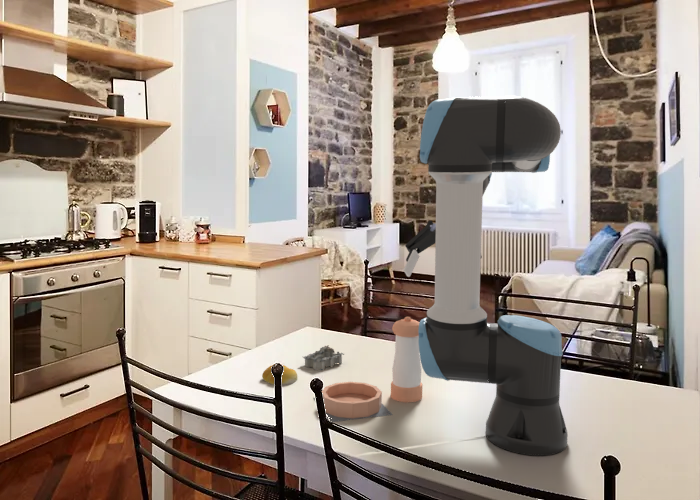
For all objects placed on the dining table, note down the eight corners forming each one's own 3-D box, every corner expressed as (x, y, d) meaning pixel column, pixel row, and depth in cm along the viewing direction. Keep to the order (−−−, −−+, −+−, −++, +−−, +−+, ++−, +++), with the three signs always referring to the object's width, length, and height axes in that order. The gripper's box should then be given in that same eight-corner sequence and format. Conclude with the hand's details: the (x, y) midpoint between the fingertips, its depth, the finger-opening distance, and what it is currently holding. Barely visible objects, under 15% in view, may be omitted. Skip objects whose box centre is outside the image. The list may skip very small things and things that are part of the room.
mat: (392, 416, 117) (392, 414, 117) (329, 424, 113) (329, 422, 113) (370, 393, 131) (370, 391, 130) (313, 399, 126) (313, 398, 126)
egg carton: (329, 358, 159) (329, 344, 159) (346, 364, 154) (347, 349, 153) (300, 365, 152) (300, 351, 152) (317, 372, 146) (317, 357, 146)
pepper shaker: (386, 401, 126) (388, 318, 124) (395, 390, 133) (396, 312, 131) (418, 405, 123) (419, 321, 121) (425, 394, 130) (426, 314, 128)
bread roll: (277, 390, 133) (277, 374, 133) (257, 380, 140) (257, 365, 139) (304, 382, 138) (304, 367, 138) (284, 373, 145) (284, 358, 145)
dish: (389, 413, 118) (389, 399, 117) (331, 420, 114) (331, 406, 113) (369, 392, 130) (369, 379, 129) (316, 398, 126) (316, 385, 126)
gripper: (510, 222, 138) (483, 292, 128) (423, 218, 153) (393, 279, 143) (502, 202, 133) (473, 272, 123) (413, 199, 148) (381, 262, 138)
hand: (430, 276), depth 133 cm, fingers open, 13 cm apart
